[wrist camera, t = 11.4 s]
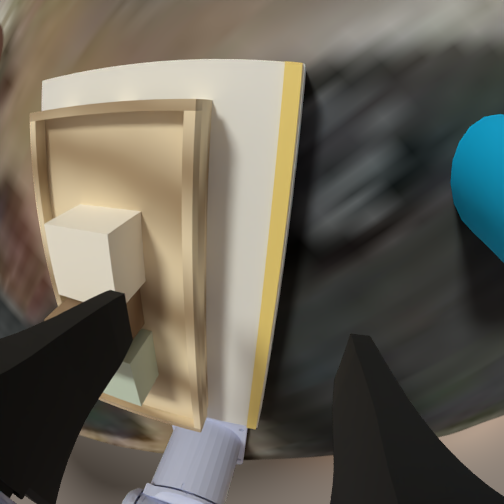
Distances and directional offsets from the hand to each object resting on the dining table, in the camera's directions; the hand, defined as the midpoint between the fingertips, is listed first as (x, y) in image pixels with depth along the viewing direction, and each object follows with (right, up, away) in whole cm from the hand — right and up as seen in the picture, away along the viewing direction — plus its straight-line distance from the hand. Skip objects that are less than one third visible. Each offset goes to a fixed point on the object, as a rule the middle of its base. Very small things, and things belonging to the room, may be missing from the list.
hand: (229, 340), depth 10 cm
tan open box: (-7, +1, +10) cm, 12 cm away
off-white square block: (-7, +3, +6) cm, 10 cm away
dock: (-5, +2, +12) cm, 13 cm away
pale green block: (-7, -4, +10) cm, 13 cm away
